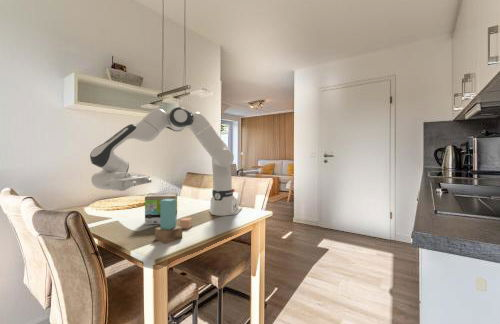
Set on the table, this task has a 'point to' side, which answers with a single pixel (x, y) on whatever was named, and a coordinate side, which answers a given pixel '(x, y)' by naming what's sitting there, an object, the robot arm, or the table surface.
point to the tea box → (156, 206)
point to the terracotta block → (186, 222)
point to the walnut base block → (168, 234)
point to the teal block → (167, 214)
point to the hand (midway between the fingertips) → (142, 182)
